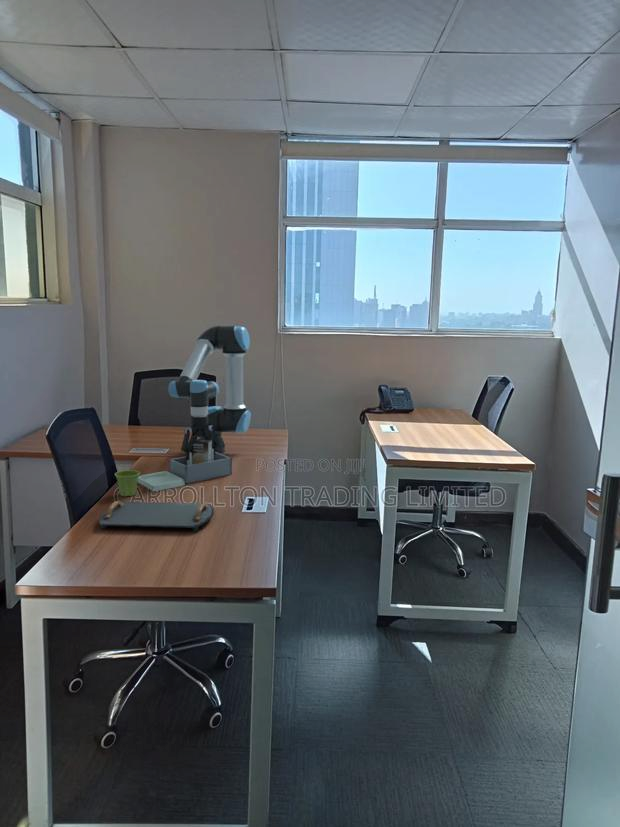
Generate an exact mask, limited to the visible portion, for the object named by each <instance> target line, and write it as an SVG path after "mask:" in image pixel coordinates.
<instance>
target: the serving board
mask: <svg viewBox="0 0 620 827" xmlns="http://www.w3.org/2000/svg"><path fill="white" fill-rule="evenodd" d="M214 514H215V511H214V508H213V505H212V504H210V503H204V502H202V503H198V502H196V503H192V502H191V503H189V502H157V501H156V502H155V501H153V502H152V501H150V502H149V501H124V502H121V501H120V500H117V501H116V500H115V501H113V502H112V503H111V504H110V505H109V506H108V508H107V510H105V511H104V512H103V513H102V514H101V515H100V517H99V518H98V525H99V526H100V527H101V530H107V529H108V528H109V526H110V527H113V526H114V527H139V528H140V527H141V528H142V527H143V528H179V529H180V528H183V529H184V528H185V529H186V528H187V529H191V531H192V532H198V531H199V527H200V526H202V525H204V524H206V523H207V522H208V521H210V519H212V517H213V516H214Z"/></svg>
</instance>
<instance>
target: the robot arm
mask: <svg viewBox="0 0 620 827" xmlns="http://www.w3.org/2000/svg"><path fill="white" fill-rule="evenodd" d="M250 344H251V339H250V334H249V331H248V330H247V328H246V327H244V326H239V325H235V326H234V325H215V326H212V327H209V328H208V329H206V330H204V331H203V332H202V333H201V334H199V336H198V338H197V339H196V341H195V343H194V346H195V347H194V349H193V351H192V352H191V355H190V357H189V359H188V360H187V362H186V364H185V366H184V367H183V370H182V372H181V374H180V376H179V378H178V379H177V380H173V381H172V380H171V381H170V382H169V383H168V390H167V391H168V393H169V396H170V397H172V398H178V399H180V398H182V399H190V401H189V402H190V406H189V407H190V415H191V416H190V425H191V426H190V428H184V436H183V440H182V444H181V449H180V451H181V452H184V453H185V456H184V457H185V458H186V459H187V465H192V453H191V452H190V450H191V448H192V446H193V444H194V442H195V440H196V439H197V438H198V439H208V440H209V439H212V461H214V455H215V452H217V453H220V454H222V453H224V452H226V444H225V441H224V438H223V434H222V433H229V434H230V433H232V434H233V433H234V434H244V433H247V431H248V430H249V426H250V425H251V424H250V423H251V418H252V416H251V412H250V410H247V406H246V404H245V403H244V365H243V364H244V358H243V357H244V356H245V355H246V354H247V352H246V351H248V350H249V349H250V346H251V345H250ZM215 350H221V351H222V355H223V356H224V357H225V387H226V388H225V390H226V391H225V392H226V393H225V394H226V395H225V397H226V402H225V404H224V406H223V408H222V406H221V405H214V406H209V400H210V399H214V398H215V397H217V396H218V395H219V393H220V386H219V385H218V384H217V383H216V382H215V381H212V380H211V381H207V380H205V379H198V378H199V376H200V373H201V372H202V370H203V368H204V366H205V364H206V362H207V360H208V358H209V356H210V355H211V354H213V352H214V351H215ZM189 441H190V442H189Z"/></svg>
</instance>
